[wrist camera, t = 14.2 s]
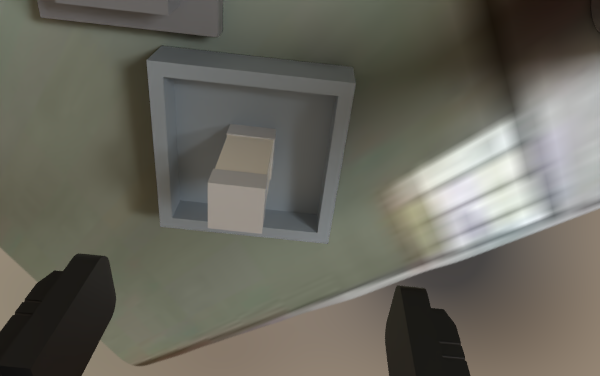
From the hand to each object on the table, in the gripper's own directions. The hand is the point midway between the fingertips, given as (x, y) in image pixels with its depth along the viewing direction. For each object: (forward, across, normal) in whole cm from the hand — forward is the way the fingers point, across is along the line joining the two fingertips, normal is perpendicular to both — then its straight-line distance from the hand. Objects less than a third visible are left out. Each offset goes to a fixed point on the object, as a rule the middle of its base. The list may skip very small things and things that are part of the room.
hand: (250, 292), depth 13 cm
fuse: (+29, +4, +11) cm, 31 cm away
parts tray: (+30, +4, +11) cm, 32 cm away
